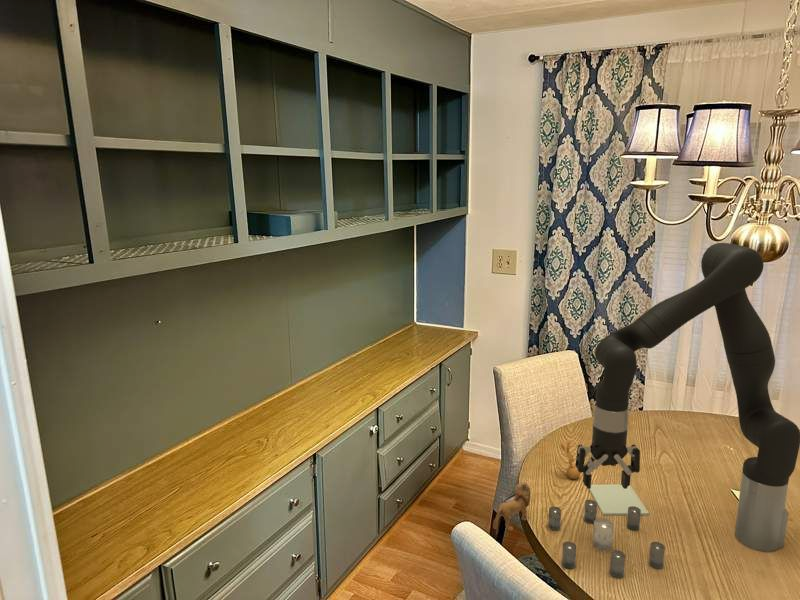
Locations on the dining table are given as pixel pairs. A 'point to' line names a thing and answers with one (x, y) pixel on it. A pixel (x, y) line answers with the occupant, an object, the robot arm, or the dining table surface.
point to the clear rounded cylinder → (603, 534)
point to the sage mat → (616, 499)
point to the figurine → (570, 461)
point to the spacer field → (616, 556)
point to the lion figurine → (514, 505)
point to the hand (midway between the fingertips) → (605, 486)
